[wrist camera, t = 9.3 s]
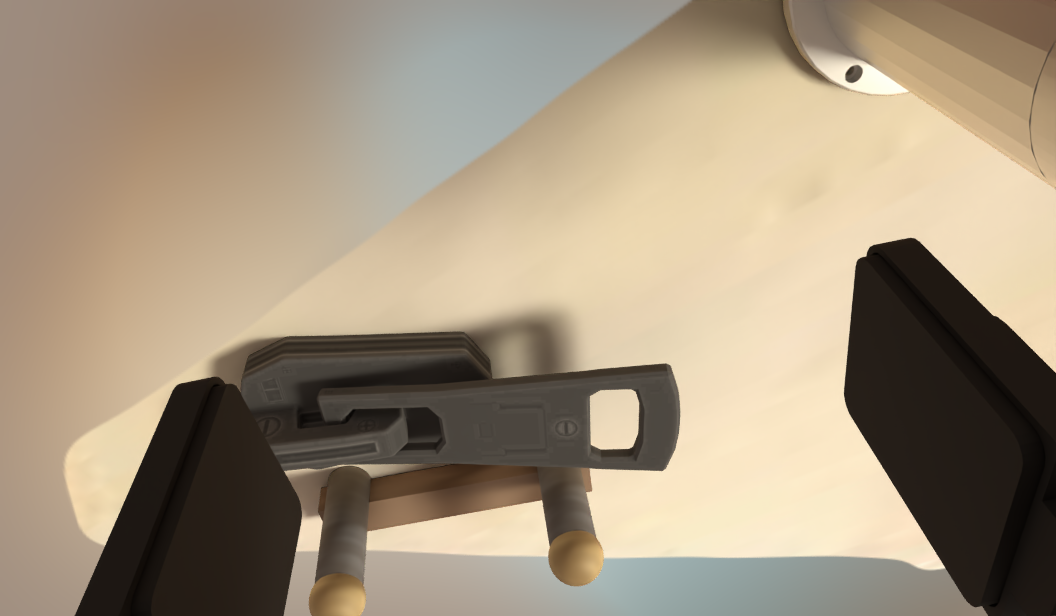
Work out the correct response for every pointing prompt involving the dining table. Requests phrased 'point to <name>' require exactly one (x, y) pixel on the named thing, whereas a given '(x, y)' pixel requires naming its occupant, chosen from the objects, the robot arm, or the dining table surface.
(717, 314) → the dining table surface
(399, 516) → the peg stop rail
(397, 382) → the zipper pull
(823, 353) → the dining table surface
